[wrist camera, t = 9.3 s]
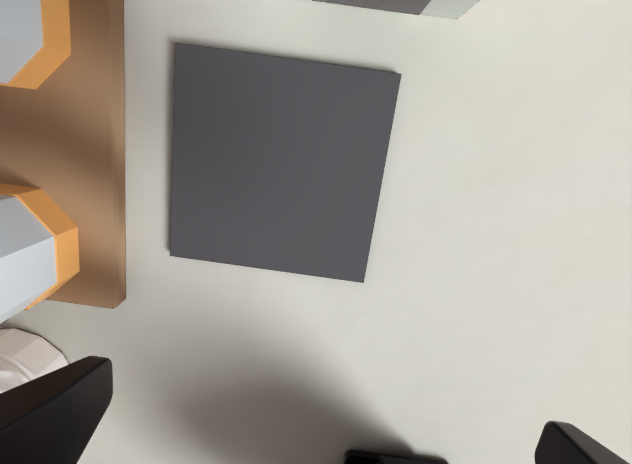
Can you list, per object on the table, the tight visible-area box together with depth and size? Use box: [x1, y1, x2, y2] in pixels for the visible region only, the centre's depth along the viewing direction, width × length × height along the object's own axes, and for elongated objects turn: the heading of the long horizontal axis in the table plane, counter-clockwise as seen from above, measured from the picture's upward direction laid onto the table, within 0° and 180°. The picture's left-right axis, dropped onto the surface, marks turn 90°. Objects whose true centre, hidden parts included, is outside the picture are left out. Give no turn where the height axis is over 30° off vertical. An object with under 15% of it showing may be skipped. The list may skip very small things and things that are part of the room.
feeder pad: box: [170, 43, 401, 283], centre depth 18 cm, size 10×10×1 cm
